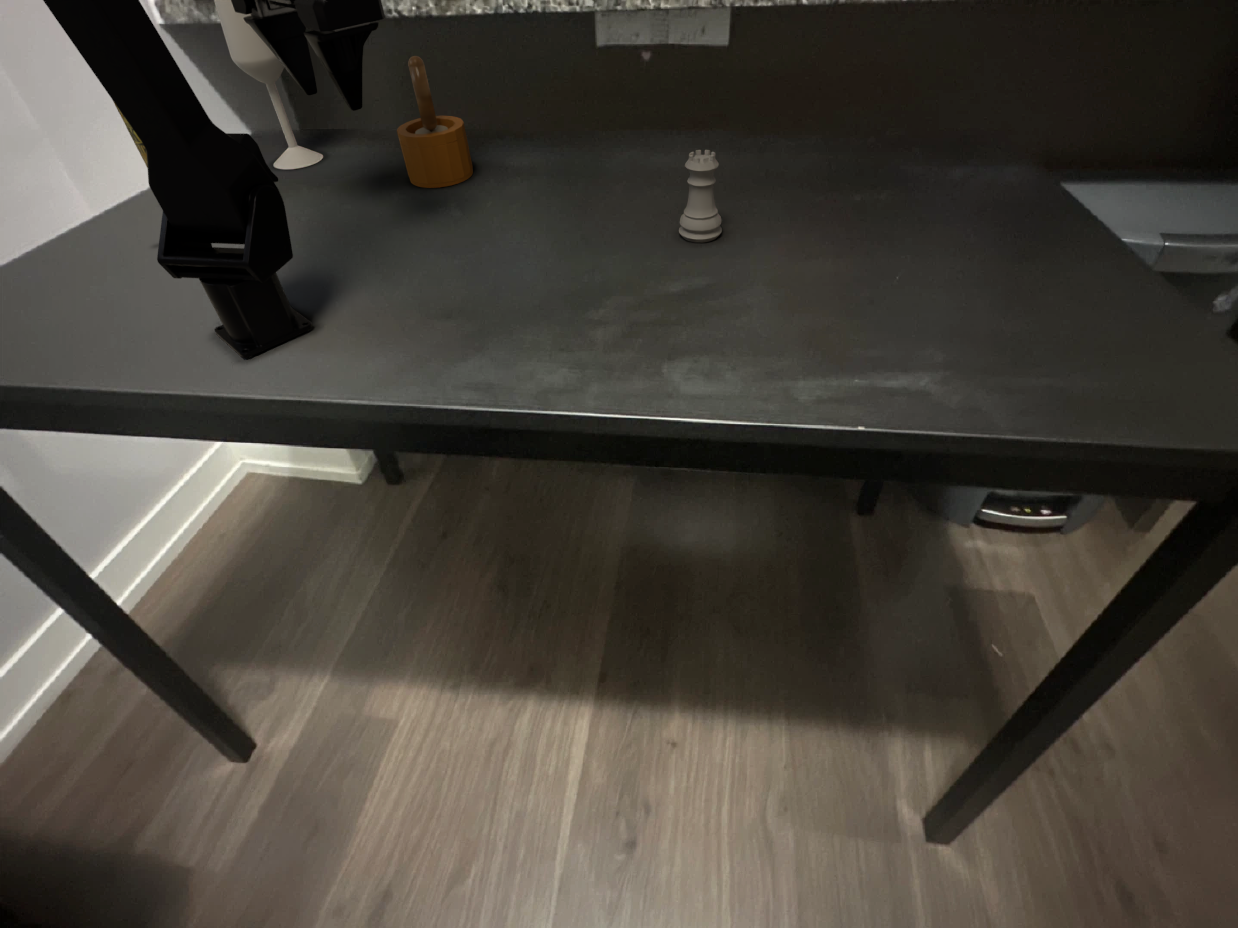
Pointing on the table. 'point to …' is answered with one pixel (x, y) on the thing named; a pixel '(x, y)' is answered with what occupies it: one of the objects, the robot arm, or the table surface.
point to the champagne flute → (262, 77)
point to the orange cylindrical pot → (436, 153)
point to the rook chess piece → (701, 200)
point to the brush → (423, 97)
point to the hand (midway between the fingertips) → (333, 101)
